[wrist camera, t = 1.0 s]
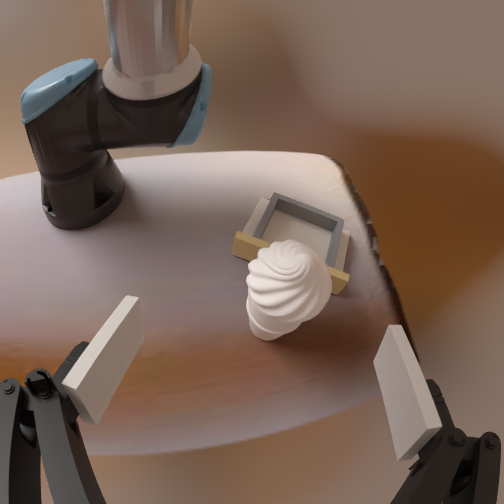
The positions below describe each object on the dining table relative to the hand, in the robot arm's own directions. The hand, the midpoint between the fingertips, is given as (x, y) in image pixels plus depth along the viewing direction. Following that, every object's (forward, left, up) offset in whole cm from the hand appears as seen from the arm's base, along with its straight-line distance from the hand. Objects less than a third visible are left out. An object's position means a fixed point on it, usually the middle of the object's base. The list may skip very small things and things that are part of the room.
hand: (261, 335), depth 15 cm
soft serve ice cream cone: (-8, +7, -20) cm, 23 cm away
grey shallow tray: (-19, +15, -20) cm, 31 cm away
